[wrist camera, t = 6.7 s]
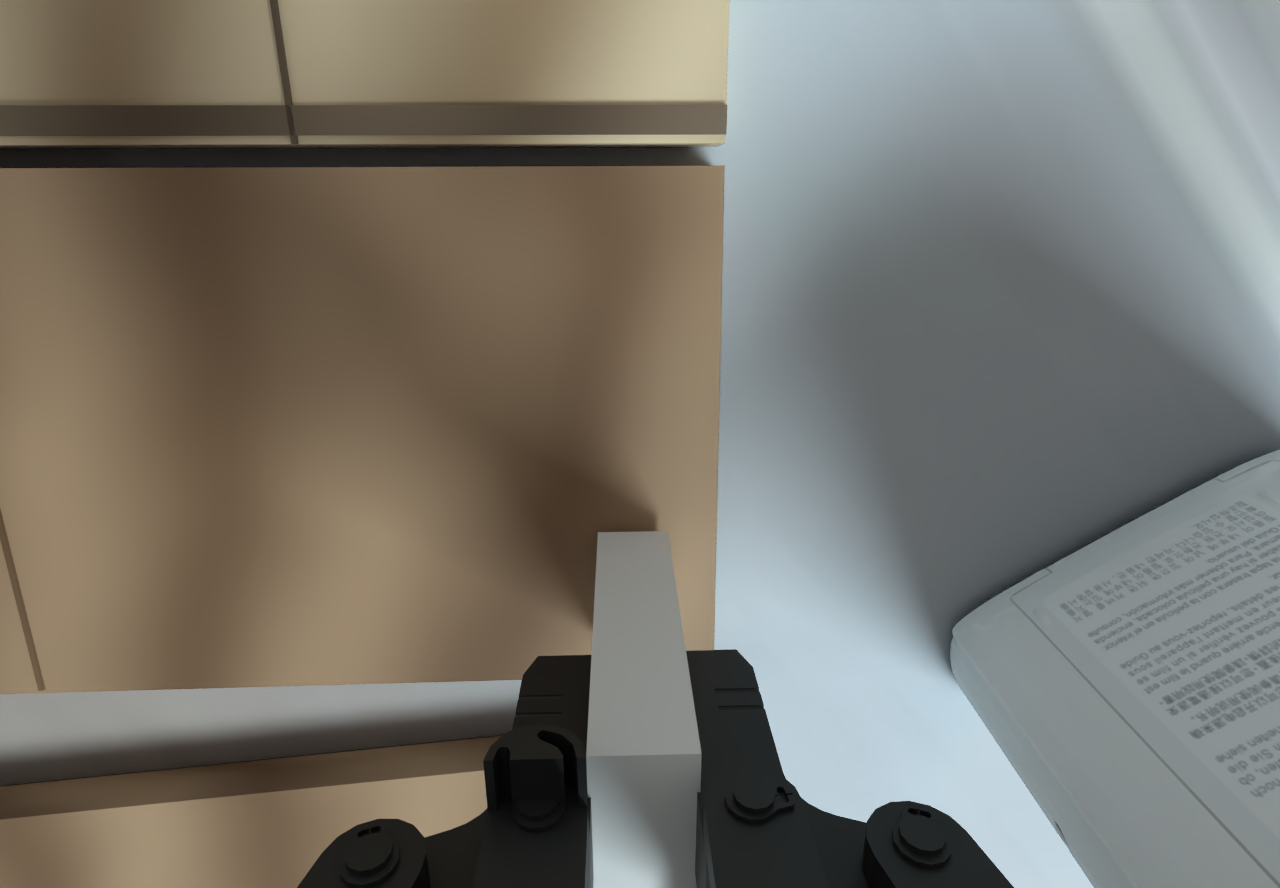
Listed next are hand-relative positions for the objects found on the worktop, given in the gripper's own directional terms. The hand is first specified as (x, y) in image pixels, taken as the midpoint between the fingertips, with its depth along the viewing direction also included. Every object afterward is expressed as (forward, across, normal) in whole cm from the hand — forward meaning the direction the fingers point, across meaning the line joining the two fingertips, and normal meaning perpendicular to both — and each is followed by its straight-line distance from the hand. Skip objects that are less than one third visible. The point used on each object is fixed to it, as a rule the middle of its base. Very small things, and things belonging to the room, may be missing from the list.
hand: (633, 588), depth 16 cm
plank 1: (+2, -9, +3) cm, 10 cm away
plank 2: (+2, -10, -9) cm, 14 cm away
